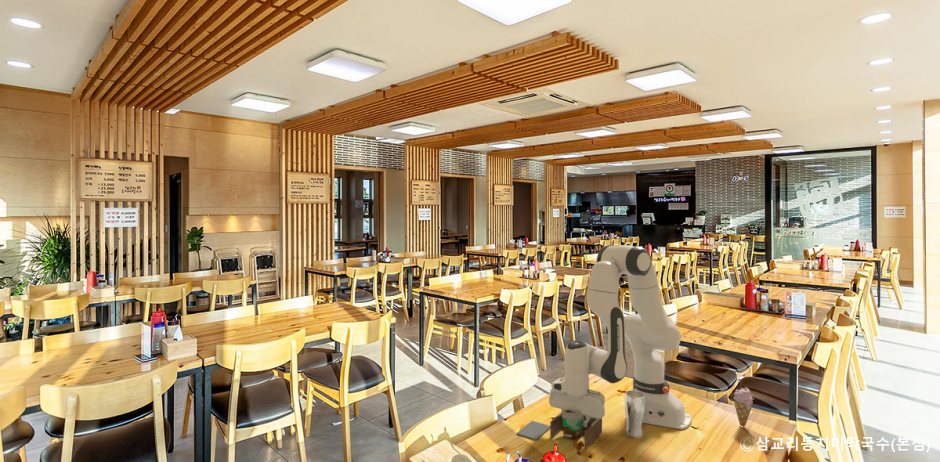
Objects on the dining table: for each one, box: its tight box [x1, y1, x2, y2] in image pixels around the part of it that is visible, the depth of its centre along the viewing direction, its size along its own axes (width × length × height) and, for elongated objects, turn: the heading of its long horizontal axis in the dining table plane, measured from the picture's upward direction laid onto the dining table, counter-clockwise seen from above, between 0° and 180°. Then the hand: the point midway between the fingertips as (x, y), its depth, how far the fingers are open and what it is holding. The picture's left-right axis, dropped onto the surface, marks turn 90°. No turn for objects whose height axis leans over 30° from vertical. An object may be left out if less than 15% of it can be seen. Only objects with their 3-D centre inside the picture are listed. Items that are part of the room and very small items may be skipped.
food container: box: [562, 410, 585, 440], centre depth 166 cm, size 12×6×10 cm, turn 144°
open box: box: [549, 411, 603, 450], centre depth 166 cm, size 14×15×6 cm
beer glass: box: [624, 389, 645, 439], centre depth 167 cm, size 7×7×15 cm
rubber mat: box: [516, 420, 550, 441], centre depth 169 cm, size 8×12×1 cm, turn 145°
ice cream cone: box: [732, 386, 755, 428], centre depth 172 cm, size 7×6×15 cm
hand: (576, 423), depth 166 cm, fingers closed on food container, 6 cm apart
